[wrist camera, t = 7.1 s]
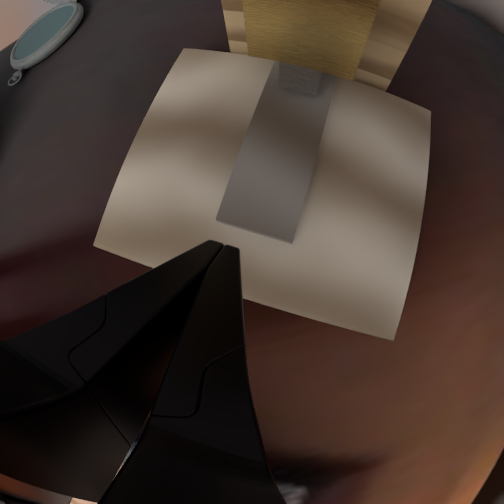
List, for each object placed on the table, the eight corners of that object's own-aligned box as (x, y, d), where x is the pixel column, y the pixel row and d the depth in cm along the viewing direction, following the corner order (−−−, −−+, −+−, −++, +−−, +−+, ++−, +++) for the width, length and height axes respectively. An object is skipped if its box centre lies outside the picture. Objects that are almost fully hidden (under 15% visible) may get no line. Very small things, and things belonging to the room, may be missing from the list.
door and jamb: (379, 335, 15) (500, 381, 5) (110, 250, 16) (-22, 211, 7) (419, 72, 17) (472, -19, 7) (218, 21, 18) (196, -79, 8)
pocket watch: (81, -75, 10) (-23, 20, 8) (114, -12, 21) (43, 84, 19) (22, -44, 11) (-62, 50, 9) (56, 5, 21) (-6, 94, 20)
